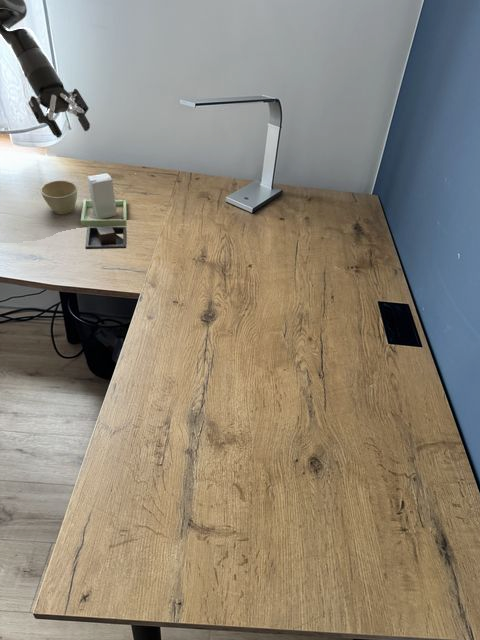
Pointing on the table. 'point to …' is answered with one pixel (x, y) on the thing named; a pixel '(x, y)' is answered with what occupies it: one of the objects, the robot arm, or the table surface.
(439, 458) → the table surface
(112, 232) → the dark block
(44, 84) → the robot arm
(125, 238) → the dark tray
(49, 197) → the bowl
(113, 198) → the cosmetic box
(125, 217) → the light tray
